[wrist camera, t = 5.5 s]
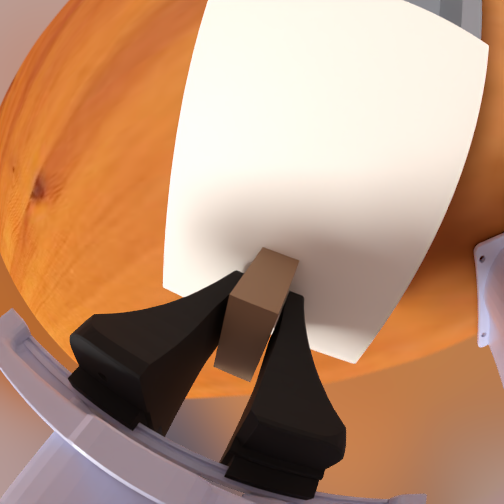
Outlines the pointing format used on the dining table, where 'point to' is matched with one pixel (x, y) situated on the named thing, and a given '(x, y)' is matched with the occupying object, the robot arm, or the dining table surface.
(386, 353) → the dining table surface
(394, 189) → the lid
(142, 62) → the dining table surface
